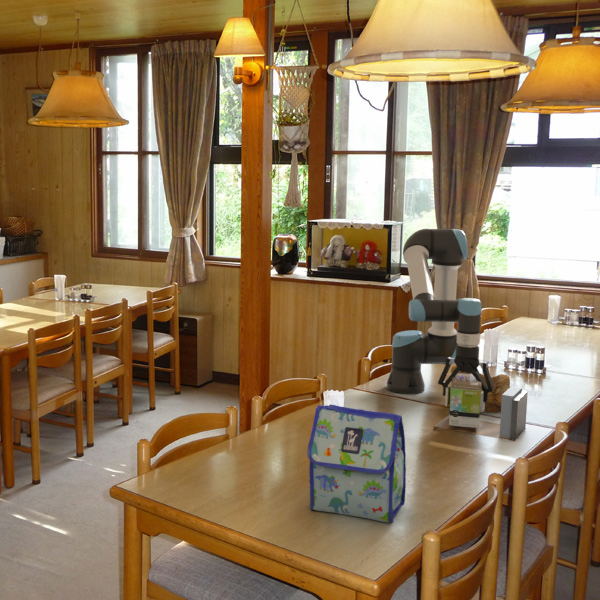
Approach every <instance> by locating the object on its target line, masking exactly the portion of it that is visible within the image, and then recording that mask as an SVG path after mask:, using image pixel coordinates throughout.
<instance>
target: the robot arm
mask: <svg viewBox="0 0 600 600" xmlns="http://www.w3.org/2000/svg"><path fill="white" fill-rule="evenodd" d="M468 250H469V248H468V239H467V237H466V233H465V232H464V231H463V230H461V229H457V228H456V229H455V228H422V229H419V230H416V231H415V232H413V233H411V235H410V236H409V237H408V238H407V239H406V241H405V243H404V245H403V248H402V257H403V260H404V262H405V264H406V265H407V270H408V277H409V282H410V288H411V294H412V295H411V296H412V299H410V301H409V302H408V318H409V320H410V321H411V322H420V323H421V322H422V323H425V322H427V323H429V322H431V326H430V327H429V328H428V329H427V334H423V332H422V331H420V330H414V329H413V330H404V331H403V330H402V331H399V332H396V333H395V334H394V335H393V336H392V343H391V347H392V350H391V351H392V352H391V353H392V355H391V370H390V372H389V375H388V379H387V381H386V389H387V390H388V391H390V392H393V393H396V394H409V395H412V394H419V393H422V392H424V391H425V387H426V386H425V380H424V378H423V374H422V371H421V370H422V365H443V366H444V368H443V370H442V372H441V374H440V376H439V379H438V381H437V384H438V385H441V386H442V395H443V396H444V398H445V399H444V400H445V401H444V403H445V404H444V406H445V407H448V406H449V407H450V392H451V385H450V384H451V381H452V378H453V377H455V376H456V375H457V374H458V372H459V371H461V372H467V373H472V375H473V376H474V377H475V379H476V380H477V381H480V382H481V386H482V388H481V389H482V390H483V392H482V393H481V403H480V413H483V411H484V410H485V402H487V401H488V393H489V392H492V391H493V390H494V386H493V383H492V379H491V378H492V376H491V373H490V369H489V362H488V361H480V359H479V358H480V346H479V345H480V339H481V336H480V335H481V321H482V320H481V319H482V312H483V309H482V301H481V300H480V299H478V298H474V297H473V298H471V297H464V298H463V297H462V298H457V286H458V285H457V284H458V271H459V270H458V269H460V267H462V265H463V261H465V260H467V259H468V253H469V252H468ZM428 260H431V264H432V265H433V267H435V269H434V285H433V282H432V277H431V272H430V266H429V262H428ZM433 286H434V287H433ZM455 323H456V324H457V325H456V326H457V327H456V328H455ZM452 365H455V366H457V368H456V369H455V370H454V372H453V373H451V374H450V375H449V376H448V377H447V375H448V372H449V371H450V370H451V369H450V368H451V366H452ZM479 367H480V369H482V373H483V374H482V375H484V377H485V380H486V383H487V385H486V384H485V382H484V380H483V379H482V377H481V375H480V374H481V373H480V370H479V369H478V368H479ZM446 377H447V379H446ZM445 379H446V380H445ZM487 386H488V387H487Z"/></svg>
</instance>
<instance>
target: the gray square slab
mask: <svg viewBox="0 0 600 600" xmlns="http://www.w3.org/2000/svg"><path fill="white" fill-rule="evenodd" d="M528 394H529V392H528V390H523V389H522V391H521V392H520V393H519V394H518V395H517V396H516V397H515V398H514V399H513V400H512V414H511V431H510V439H512V440H516V441H517V440H518V438H520V436H521V435H522V434H523V432H525V430H526V429H525V428H526V425H527V423H526V422H527V410H528V409H527V408H528V407H527V406H528ZM521 433H522V434H521Z"/></svg>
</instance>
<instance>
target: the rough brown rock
mask: <svg viewBox="0 0 600 600" xmlns="http://www.w3.org/2000/svg"><path fill="white" fill-rule="evenodd" d="M456 368H457V366H456V365H453V366H452V367H451V369H450V373H451V374H452V373H453V372H454V370H455V369H456ZM458 373H463V374H472V373H467V372H461V371H459V372H458ZM480 375H481V377H482V379H483V380H484V382H485V384H486V385H487V383H486V380H485V377H484V374H482V373H480ZM491 379H492V383H493V386H494V390H493V391H492V392H489V393H488V401H487V402H485V410H484V411H483V412H484V413H492V414H496V413H497V414H498V413H501V402H502V394H503V393H504V392H506V391H507V390H508V389H509V388H510V387H511V380H510V376H509V375H507V374H502V373H501V374H497V375H495V376H491ZM487 387H488V386H487ZM482 392H483V390H482V389H481V393H482ZM483 412H482V413H483Z"/></svg>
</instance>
